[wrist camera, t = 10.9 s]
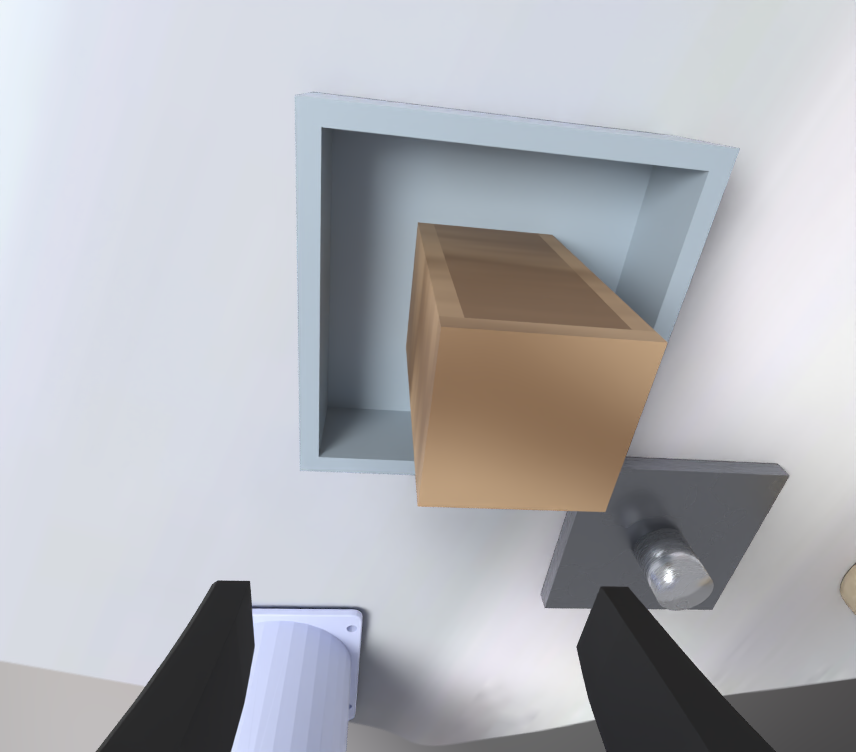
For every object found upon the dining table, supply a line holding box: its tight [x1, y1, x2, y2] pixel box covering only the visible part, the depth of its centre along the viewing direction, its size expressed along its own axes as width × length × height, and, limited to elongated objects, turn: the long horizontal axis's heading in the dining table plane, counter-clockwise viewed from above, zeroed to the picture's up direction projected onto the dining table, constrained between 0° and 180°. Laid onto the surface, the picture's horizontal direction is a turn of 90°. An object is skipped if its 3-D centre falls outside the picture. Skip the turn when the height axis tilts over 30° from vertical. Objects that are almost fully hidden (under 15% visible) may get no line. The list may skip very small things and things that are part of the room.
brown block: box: [406, 222, 668, 512], centre depth 14 cm, size 4×4×8 cm
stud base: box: [541, 457, 789, 610], centre depth 24 cm, size 9×9×3 cm
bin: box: [295, 92, 740, 475], centre depth 17 cm, size 11×11×4 cm
